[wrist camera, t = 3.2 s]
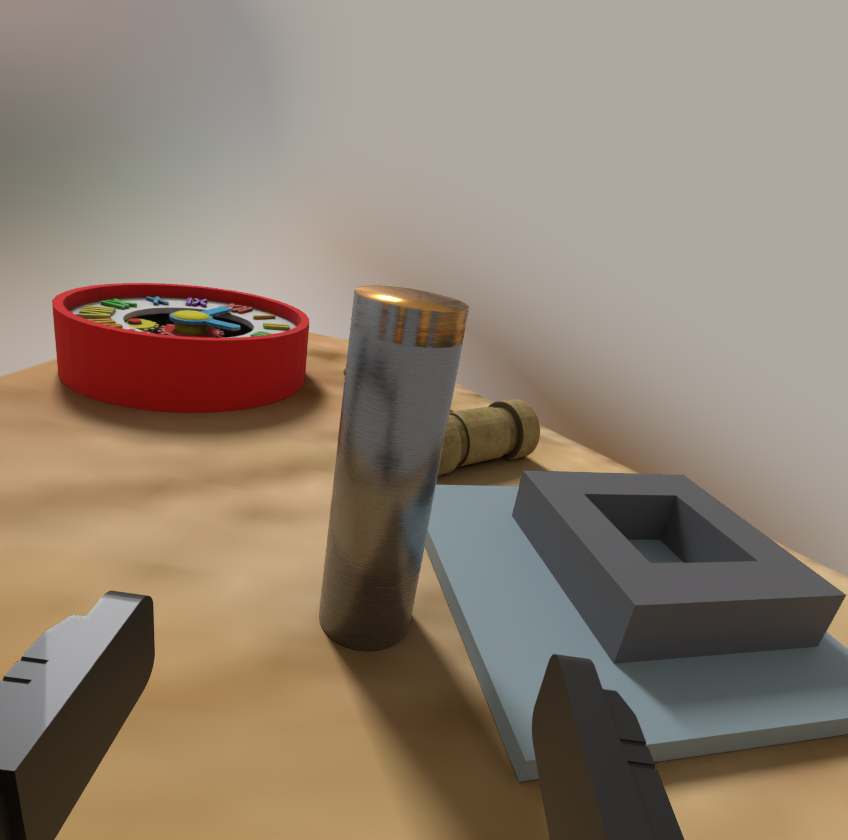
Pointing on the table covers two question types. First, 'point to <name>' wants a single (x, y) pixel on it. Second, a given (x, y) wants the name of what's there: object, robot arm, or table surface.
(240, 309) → the toy clock
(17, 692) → the robot arm
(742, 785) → the table surface
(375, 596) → the chrome cylinder
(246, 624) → the table surface
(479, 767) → the table surface
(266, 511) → the table surface
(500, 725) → the dock
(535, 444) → the gavel
